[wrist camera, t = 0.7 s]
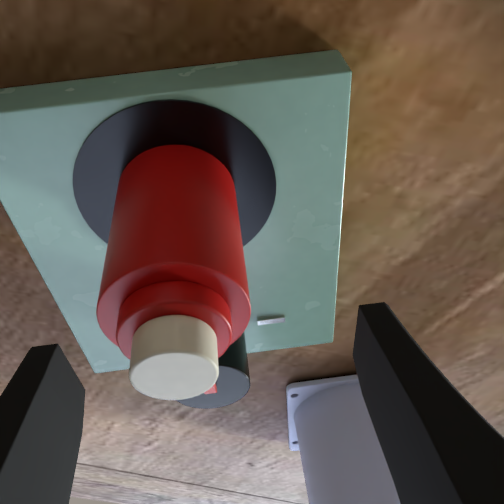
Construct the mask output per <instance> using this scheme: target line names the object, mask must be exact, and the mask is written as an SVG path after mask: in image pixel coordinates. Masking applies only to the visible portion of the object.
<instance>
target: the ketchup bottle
mask: <svg viewBox="0 0 504 504" xmlns="http://www.w3.org/2000/svg"><path fill="white" fill-rule="evenodd" d="M96 315H97V321H98V323H99V326H100V328H101V330H102V331H103V333H104V334H105V336H106V337H107V338H108V339H109V340H110V341H111V342H112V343H114V344H115V345H116V346H118V347H119V349H120V350H121V352H122V353H123V354H124V355H125V356H126V357H127V358H128V359H129V360H130V368H129V379H130V382H131V384H132V385H133V387H134V388H135V389H136V390H137V391H139V392H140V393H142V394H144V395H146V396H149V397H152V398H156V399H162V400H181V399H188V398H192V397H195V396H198V395H200V394H202V393H204V392H206V391H207V390H209V389H210V388H211V387H212V386H213V385H214V384H215V382H216V381H217V378H218V375H219V366H218V358H219V357H221V356H222V355H223V354H224V353H225V351H226V350H227V349H228V347H229V345H231V344H232V343H234V342H235V341H236V340H237V339H238V338H239V337H240V336H241V335H242V333H243V332H244V331H245V329H246V327H247V325H248V323H249V320H250V316H251V304H250V296H249V289H248V281H247V274H246V267H245V259H244V252H243V244H242V237H241V229H240V222H239V214H238V207H237V200H236V192H235V186H234V182H233V179H232V177H231V175H230V173H229V171H228V170H227V169H226V167H225V166H224V165H223V164H222V163H221V162H220V161H219V160H218V159H217V158H215V157H214V156H213V155H211V154H209V153H207V152H206V151H203V150H201V149H198V148H195V147H192V146H186V145H175V144H174V145H164V146H158V147H155V148H152V149H149V150H147V151H145V152H143V153H141V154H140V155H138V156H136V157H135V158H134V159H133V160H132V161H131V162H130V163H129V164H128V165H127V166H126V168H125V169H124V171H123V172H122V174H121V177H120V180H119V184H118V189H117V195H116V200H115V206H114V212H113V217H112V223H111V228H110V234H109V240H108V245H107V251H106V257H105V262H104V268H103V273H102V279H101V285H100V290H99V296H98V302H97V309H96Z"/></svg>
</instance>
